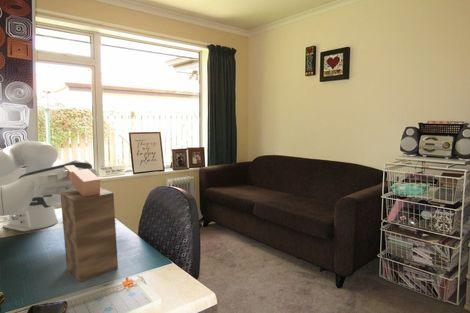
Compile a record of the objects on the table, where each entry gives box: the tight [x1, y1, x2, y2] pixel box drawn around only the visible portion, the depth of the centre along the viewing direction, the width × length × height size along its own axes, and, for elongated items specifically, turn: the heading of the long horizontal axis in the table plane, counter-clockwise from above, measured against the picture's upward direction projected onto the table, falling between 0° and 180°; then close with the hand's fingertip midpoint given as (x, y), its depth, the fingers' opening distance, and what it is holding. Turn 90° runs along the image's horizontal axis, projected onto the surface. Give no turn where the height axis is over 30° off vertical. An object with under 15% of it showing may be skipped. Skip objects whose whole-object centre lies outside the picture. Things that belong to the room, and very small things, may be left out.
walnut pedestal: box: [60, 187, 119, 283], centre depth 102 cm, size 12×12×26 cm
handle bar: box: [64, 165, 101, 197], centre depth 103 cm, size 20×5×5 cm, turn 47°
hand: (73, 171), depth 107 cm, fingers closed on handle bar, 3 cm apart
